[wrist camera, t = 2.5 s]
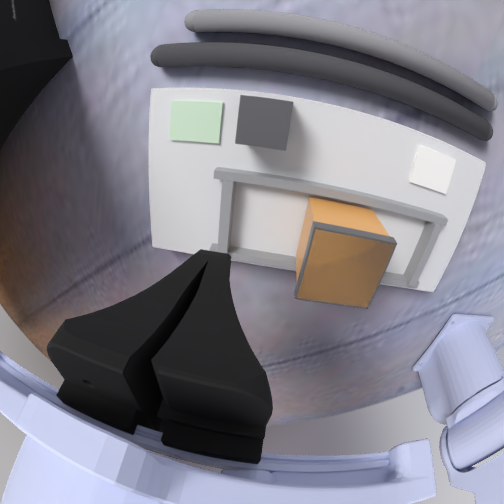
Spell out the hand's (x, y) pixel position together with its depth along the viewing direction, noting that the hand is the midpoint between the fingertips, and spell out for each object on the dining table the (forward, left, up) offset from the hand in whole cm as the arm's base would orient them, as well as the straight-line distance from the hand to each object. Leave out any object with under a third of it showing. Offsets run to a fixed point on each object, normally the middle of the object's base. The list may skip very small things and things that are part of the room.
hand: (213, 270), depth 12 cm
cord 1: (+12, -6, -8) cm, 16 cm away
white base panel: (+2, -5, -8) cm, 10 cm away
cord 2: (+10, -5, -8) cm, 14 cm away
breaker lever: (0, -6, -6) cm, 8 cm away
